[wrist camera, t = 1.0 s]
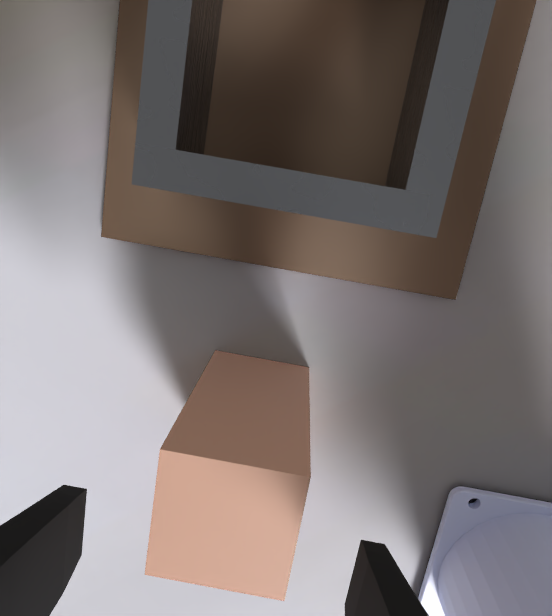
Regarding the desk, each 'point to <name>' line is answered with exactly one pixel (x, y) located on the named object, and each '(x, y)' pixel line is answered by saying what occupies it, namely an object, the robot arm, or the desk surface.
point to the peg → (234, 478)
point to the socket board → (311, 131)
